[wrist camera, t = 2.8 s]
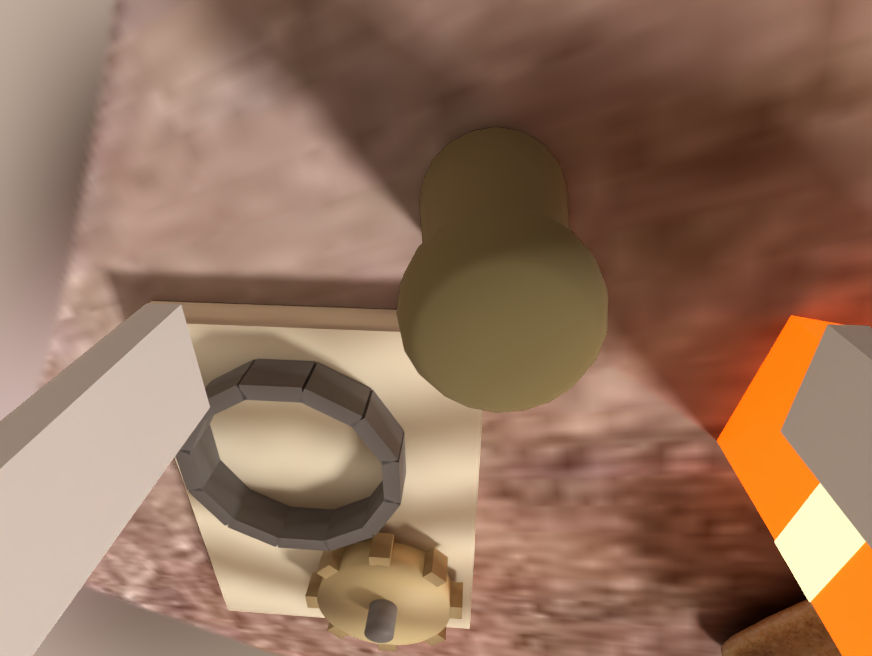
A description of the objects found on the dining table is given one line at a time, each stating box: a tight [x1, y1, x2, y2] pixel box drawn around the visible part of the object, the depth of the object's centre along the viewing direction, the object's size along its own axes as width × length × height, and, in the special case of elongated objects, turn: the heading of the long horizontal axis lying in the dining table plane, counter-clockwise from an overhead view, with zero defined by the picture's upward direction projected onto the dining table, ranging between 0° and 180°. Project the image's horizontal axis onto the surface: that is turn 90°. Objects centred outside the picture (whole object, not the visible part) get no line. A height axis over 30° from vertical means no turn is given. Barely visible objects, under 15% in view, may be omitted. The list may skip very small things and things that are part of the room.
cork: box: [396, 127, 608, 413], centre depth 16 cm, size 6×6×11 cm
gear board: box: [150, 301, 483, 651], centre depth 27 cm, size 22×16×6 cm
